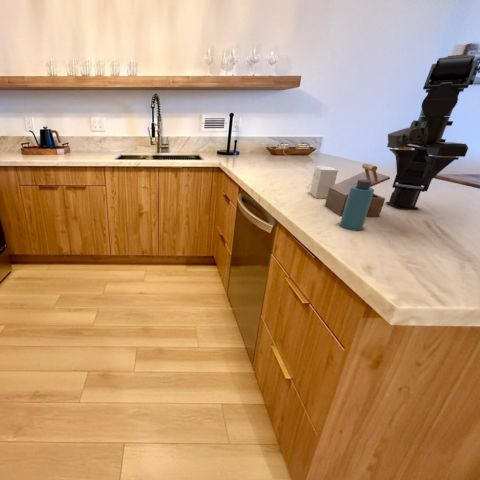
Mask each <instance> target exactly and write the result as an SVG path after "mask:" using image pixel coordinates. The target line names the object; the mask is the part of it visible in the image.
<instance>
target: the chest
mask: <svg viewBox="0 0 480 480" xmlns="http://www.w3.org/2000/svg"><path fill="white" fill-rule="evenodd" d="M347 198H348V197H345V196H343V195H341V194H339V193H337V192H335V191H333V190H331V189H329V191H328V195H327V198H325V203H324V207H327V208H328V209H329V210H330V211H332V212H334V213H336V214H337V215H339V216H340V217H342V215H343V212H344V208H345V205H346V201H347ZM385 200H386V198H385V197H383V196H380V195H378V194H376V193H375V192H374V193H373V196H372V199H371V203H370V206H369V209H368V212H367V215H366V217H375V218H376V217H378V218H379V217H380V215H381V212H382V209H383V207H384V203H385Z"/></svg>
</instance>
